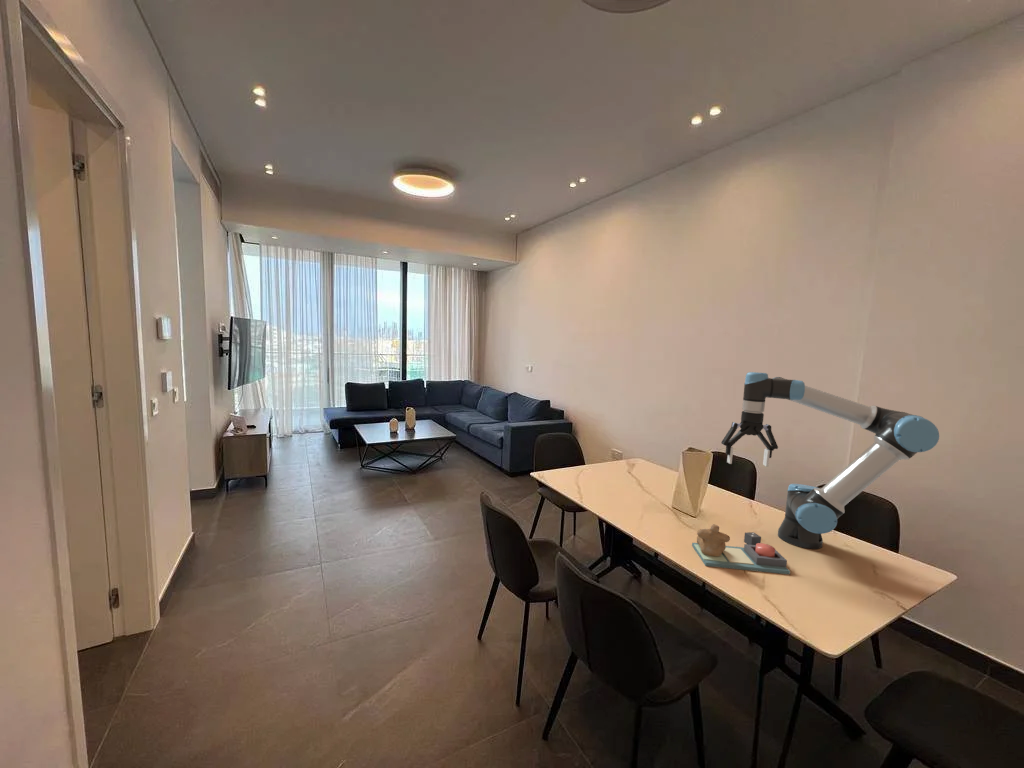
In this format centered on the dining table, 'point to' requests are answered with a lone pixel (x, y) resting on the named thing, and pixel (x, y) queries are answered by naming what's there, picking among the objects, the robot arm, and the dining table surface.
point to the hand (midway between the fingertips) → (747, 464)
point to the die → (752, 538)
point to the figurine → (712, 541)
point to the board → (744, 559)
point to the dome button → (765, 550)
